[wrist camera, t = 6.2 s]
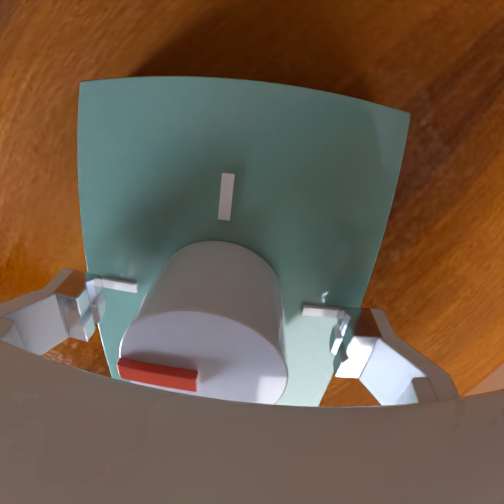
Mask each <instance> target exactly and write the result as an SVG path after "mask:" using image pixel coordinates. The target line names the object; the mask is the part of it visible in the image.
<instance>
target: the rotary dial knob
mask: <svg viewBox="0 0 504 504" xmlns="http://www.w3.org/2000/svg"><path fill="white" fill-rule="evenodd" d="M119 355H120V358H119V360H118V362H117V368H118V372H119V375H120V378H122V379H127V380H130V382H131V383H134V384H139V385H143V386H148V387H152V388H157V389H162V390H167V391H173V392H178V393H184V394H190V395H196V396H202V397H209V398H216V399H224V400H232V401H241V402H250V403H261V404H273V405H274V404H275V403H276V402H277V401H278V400H279V399H280V398H281V396H282V395H283V393H284V391H285V389H286V386H287V384H288V377H289V375H288V357H287V342H286V327H285V313H284V300H283V291H282V286H281V284H280V281H279V279H278V277H277V275H276V273H275V272H274V270H273V269H272V268H271V266H270V265H269V264H268V263H267V262H266V261H265V260H264V259H263V258H261V257H260V256H259V255H257V254H256V253H254V252H252V251H251V250H249V249H247V248H245V247H242V246H240V245H237V244H233V243H230V242H223V241H203V242H197V243H193V244H190V245H187V246H185V247H183V248H181V249H179V250H177V251H176V252H175V253H173V254H172V255H171V256H170V257H169V258H168V259H167V260H166V261H165V262H164V264H163V265H162V266H161V268H160V270H159V272H158V273H157V275H156V277H155V278H154V280H153V282H152V284H151V285H150V287H149V289H148V291H147V292H146V294H145V296H144V298H143V299H142V301H141V303H140V305H139V306H138V308H137V310H136V312H135V314H134V315H133V317H132V319H131V321H130V323H129V325H128V327H127V328H126V330H125V332H124V334H123V336H122V339H121V342H120V347H119Z"/></svg>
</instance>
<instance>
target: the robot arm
mask: <svg viewBox="0 0 504 504" xmlns="http://www.w3.org/2000/svg"><path fill="white" fill-rule="evenodd" d="M102 287H103V280H102V277H101V276H100V275H99V274H94V273H89V272H84V271H79V270H75V269H69V268H63V269H62V270H61V271H60V272H59V273H58V274H57V275H56V276H55V277H54V278H53V279H52V280H51V281H50V282H49V283H48V284H47V285H46V286H45V287H44V288H43V289H42V290H35V291H33V292H30V293H28V294H25V295H22V296H20V297H17V298H15V299H12V300H10V301H7V302H5V303H2V304H0V504H504V389H501V390H496V391H491V392H487V393H481V394H476V395H470V396H465V397H460V395H459V393H458V391H457V389H456V387H455V385H454V383H453V381H452V379H451V377H450V375H449V374H448V373H447V372H445V371H444V370H443V369H441V368H440V367H439V366H437V365H436V364H435V363H433V362H432V361H431V360H429V359H428V358H427V357H425V356H424V355H422V354H421V353H420V352H418V351H417V350H416V349H414V348H413V347H412V346H410V345H409V344H408V343H406V342H405V341H403V340H402V339H397V337H396V335H395V333H394V331H393V329H392V327H391V325H390V322H389V320H388V318H387V316H386V314H385V312H384V310H382V309H377V308H353V307H340V308H339V310H338V313H337V316H336V317H337V321H338V323H337V324H335V325H334V326H333V327H332V331H331V334H330V340H329V347H330V353H331V354H332V355H333V356H334V357H335V358H334V360H333V367H334V371H335V376H336V377H343V378H359V380H360V381H361V382H362V383H363V384H364V385H365V387H366V388H367V389H368V390H369V391H370V392H371V393H372V395H373V396H374V397H375V398H376V399H377V400H378V401H379V402H380V404H381V406H357V407H312V406H289V405H273V404H261V403H250V402H241V401H232V400H224V399H216V398H209V397H202V396H196V395H190V394H184V393H178V392H173V391H167V390H162V389H157V388H152V387H148V386H143V385H139V384H134V383H130V382H126V381H122V380H118V379H114V378H110V377H106V376H103V375H99V374H96V373H92V372H89V371H85V370H82V369H79V368H76V367H72V366H69V365H66V364H63V363H60V362H57V361H54V360H51V359H48V358H46V357H43V356H41V355H42V354H44V353H46V352H47V351H49V350H50V349H52V348H53V347H55V346H56V345H58V344H59V343H61V342H62V341H64V340H66V339H67V338H68V337H71V338H75V339H79V340H83V341H87V342H88V341H89V339H90V338H91V336H92V334H93V333H94V331H95V330H96V329H95V324H97V323H99V322H101V320H102V319H103V317H104V314H105V310H106V298H105V295H104V294H103V293H102V291H101V289H102Z"/></svg>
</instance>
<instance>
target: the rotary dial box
mask: <svg viewBox="0 0 504 504" xmlns="http://www.w3.org/2000/svg"><path fill="white" fill-rule="evenodd" d="M410 116H411V114H410V113H408V112H405V111H402V110H399V109H395V108H392V107H388V106H385V105H381V104H378V103H374V102H370V101H366V100H362V99H358V98H354V97H350V96H346V95H341V94H337V93H332V92H327V91H322V90H317V89H311V88H306V87H300V86H294V85H287V84H280V83H273V82H265V81H256V80H247V79H236V78H222V77H204V76H137V77H119V78H106V79H96V80H87V81H81V82H80V91H79V107H78V184H79V201H80V213H81V224H82V233H83V242H84V250H85V257H86V264H87V270H88V272H89V273H94V274H99V275H100V276H101V277H102V280H103V287H102V289H101V291H102V293H103V294H104V295H105V298H106V310H105V314H104V317H103V319H102V320H101V322H99V323H98V327H99V331H100V336H101V340H102V344H103V348H104V351H105V355H106V359H107V362H108V366H109V369H110V373H111V376H112V378H114V379H118V380H122V381H126V382H130V380H127V379H122V378H120V375H119V372H118V368H117V362H118V360H119V358H120V355H119V347H120V342H121V339H122V336H123V334H124V332H125V330H126V328H127V327H128V325H129V323H130V321H131V319H132V317H133V315H134V314H135V312H136V310H137V308H138V306H139V305H140V303H141V301H142V299H143V298H144V296H145V294H146V292H147V291H148V289H149V287H150V285H151V284H152V282H153V280H154V278H155V277H156V275H157V273H158V272H159V270H160V268H161V266H162V265H163V264H164V262H165V261H166V260H167V259H168V258H169V257H170V256H171V255H172V254H173V253H175V252H176V251H177V250H179V249H181V248H183V247H185V246H187V245H190V244H193V243H197V242H203V241H223V242H230V243H233V244H237V245H240V246H242V247H245V248H247V249H249V250H251V251H252V252H254V253H256V254H257V255H259V256H260V257H261V258H263V259H264V260H265V261H266V262H267V263H268V264H269V265H270V266H271V268H272V269H273V270H274V272H275V273H276V275H277V277H278V279H279V281H280V284H281V286H282V291H283V300H284V313H285V327H286V342H287V357H288V375H289V377H288V384H287V386H286V389H285V391H284V393H283V395H282V396H281V398H280V399H279V400H278V401H277V402H276V403H275V404H274V405H289V406H312V407H318V406H319V404H320V402H321V400H322V397H323V395H324V393H325V391H326V389H327V387H328V384H329V382H330V380H331V378H332V376H333V373H334V367H333V360H334V358H335V357H334V356H333V355H332V354H331V353H330V347H329V340H330V334H331V331H332V327H333V326H334V325H335V324H337V323H338V321H337V317H336V316H337V313H338V310H339V308H340V307H353V308H360V306H361V303H362V300H363V298H364V295H365V292H366V289H367V286H368V283H369V280H370V277H371V274H372V271H373V268H374V265H375V262H376V259H377V255H378V252H379V249H380V245H381V242H382V239H383V235H384V232H385V228H386V225H387V221H388V217H389V214H390V210H391V206H392V202H393V198H394V194H395V190H396V186H397V182H398V177H399V173H400V168H401V164H402V159H403V154H404V149H405V144H406V139H407V133H408V128H409V122H410ZM130 383H131V382H130Z"/></svg>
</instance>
